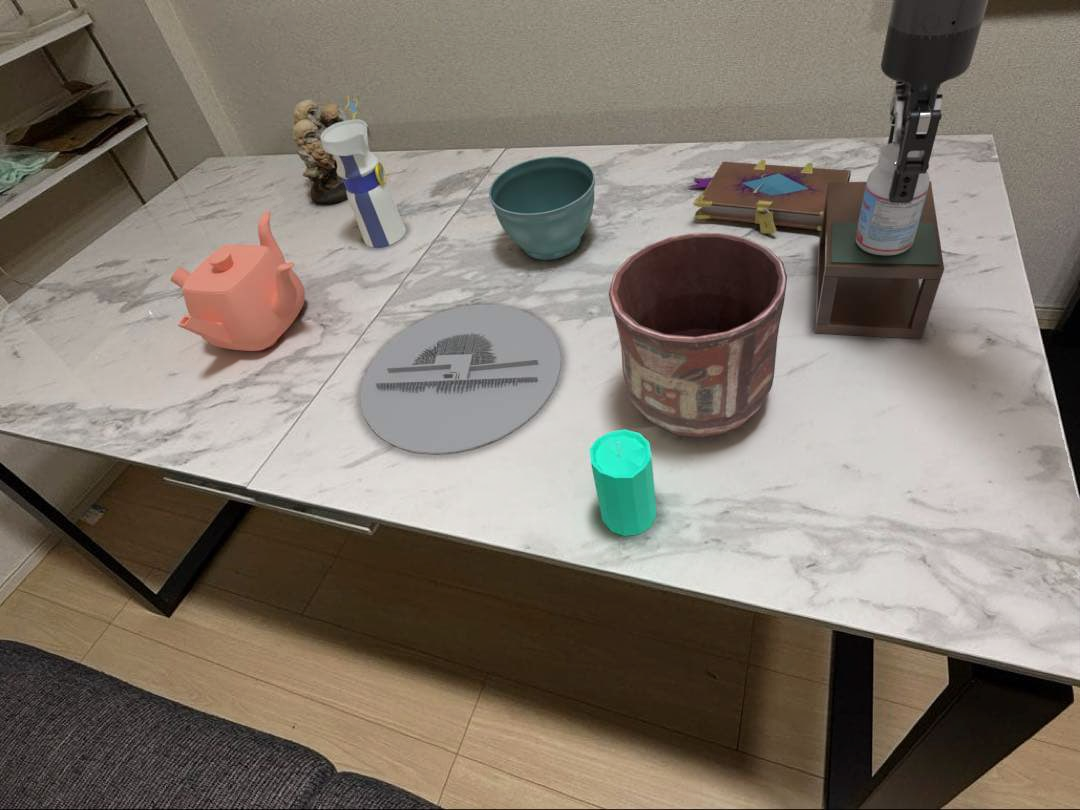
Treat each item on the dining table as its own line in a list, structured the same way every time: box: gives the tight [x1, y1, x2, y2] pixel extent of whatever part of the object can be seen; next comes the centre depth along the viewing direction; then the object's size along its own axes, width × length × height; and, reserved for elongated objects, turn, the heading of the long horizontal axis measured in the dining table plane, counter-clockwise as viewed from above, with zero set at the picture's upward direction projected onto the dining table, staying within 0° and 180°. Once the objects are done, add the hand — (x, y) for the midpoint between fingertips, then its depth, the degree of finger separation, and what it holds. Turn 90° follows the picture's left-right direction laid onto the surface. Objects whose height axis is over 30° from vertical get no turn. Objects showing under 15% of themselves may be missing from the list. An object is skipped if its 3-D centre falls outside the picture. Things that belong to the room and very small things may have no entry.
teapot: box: [170, 210, 306, 352], centre depth 102 cm, size 18×18×14 cm
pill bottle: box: [856, 143, 931, 256], centre depth 73 cm, size 6×6×11 cm
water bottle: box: [321, 95, 407, 249], centre depth 110 cm, size 8×9×25 cm
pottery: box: [608, 232, 788, 438], centre depth 74 cm, size 18×18×18 cm
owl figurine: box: [292, 99, 350, 204], centre depth 129 cm, size 18×12×17 cm, turn 165°
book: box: [687, 159, 852, 234], centre depth 103 cm, size 16×25×5 cm, turn 63°
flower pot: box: [488, 155, 596, 261], centre depth 104 cm, size 16×16×11 cm
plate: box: [360, 304, 562, 455], centre depth 91 cm, size 28×28×1 cm
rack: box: [814, 180, 945, 340], centre depth 84 cm, size 12×18×11 cm, turn 163°
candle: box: [589, 428, 658, 537], centre depth 67 cm, size 6×6×12 cm
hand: (897, 179), depth 71 cm, fingers open, 8 cm apart
